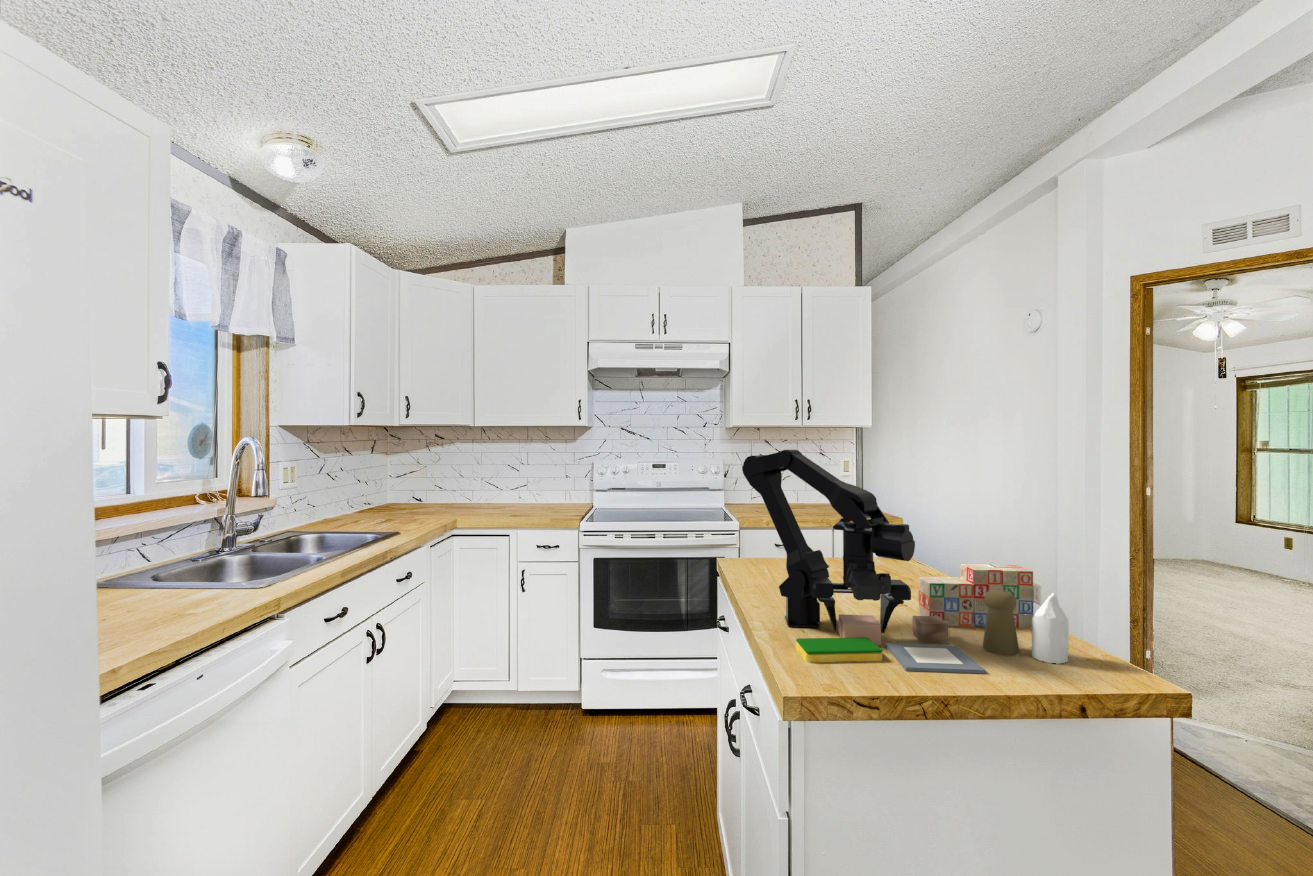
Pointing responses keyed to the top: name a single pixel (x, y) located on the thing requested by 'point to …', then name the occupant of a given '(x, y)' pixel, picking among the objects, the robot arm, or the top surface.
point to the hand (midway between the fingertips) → (858, 631)
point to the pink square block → (860, 627)
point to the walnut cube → (930, 629)
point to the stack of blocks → (976, 594)
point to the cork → (1000, 624)
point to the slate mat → (934, 658)
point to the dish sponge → (838, 649)
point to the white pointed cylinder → (1050, 632)
